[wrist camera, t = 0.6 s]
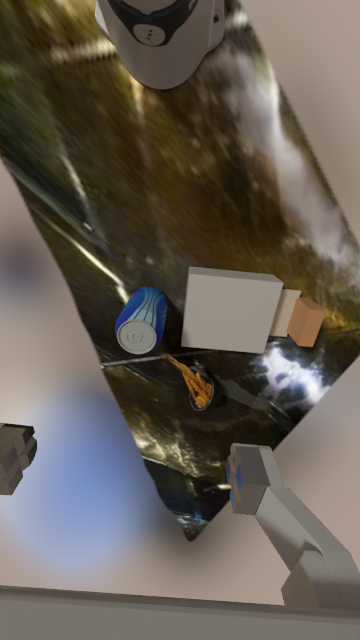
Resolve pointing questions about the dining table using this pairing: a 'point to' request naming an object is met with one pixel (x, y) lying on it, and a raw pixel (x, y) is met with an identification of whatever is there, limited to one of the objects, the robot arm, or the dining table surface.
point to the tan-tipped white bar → (297, 318)
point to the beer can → (142, 321)
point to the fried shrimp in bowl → (198, 386)
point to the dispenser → (229, 309)
